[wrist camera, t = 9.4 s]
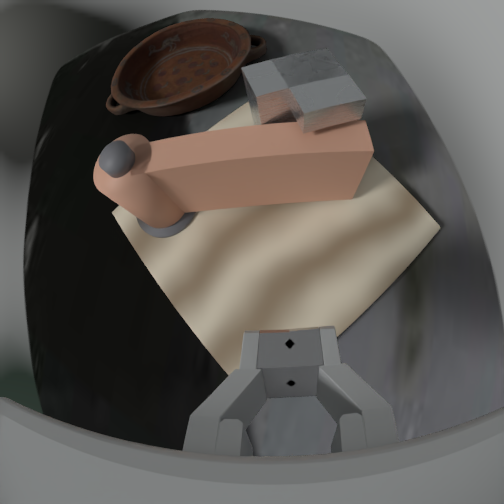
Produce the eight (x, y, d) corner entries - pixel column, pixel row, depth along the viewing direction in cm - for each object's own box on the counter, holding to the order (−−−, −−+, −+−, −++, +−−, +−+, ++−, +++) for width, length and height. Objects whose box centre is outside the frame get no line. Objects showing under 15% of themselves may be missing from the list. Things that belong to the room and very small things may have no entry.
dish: (110, 83, 36) (95, 63, 31) (241, 25, 35) (235, 1, 30) (123, 162, 31) (102, 141, 26) (294, 87, 31) (293, 57, 26)
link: (138, 230, 26) (79, 194, 17) (142, 183, 27) (92, 134, 18) (354, 212, 24) (383, 158, 15) (345, 161, 25) (364, 95, 16)
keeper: (279, 202, 26) (269, 123, 15) (260, 155, 27) (241, 67, 16) (341, 182, 25) (366, 98, 14) (318, 138, 27) (326, 47, 16)
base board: (434, 231, 25) (442, 226, 23) (256, 399, 24) (253, 405, 22) (278, 90, 30) (278, 79, 29) (119, 217, 29) (109, 211, 27)
